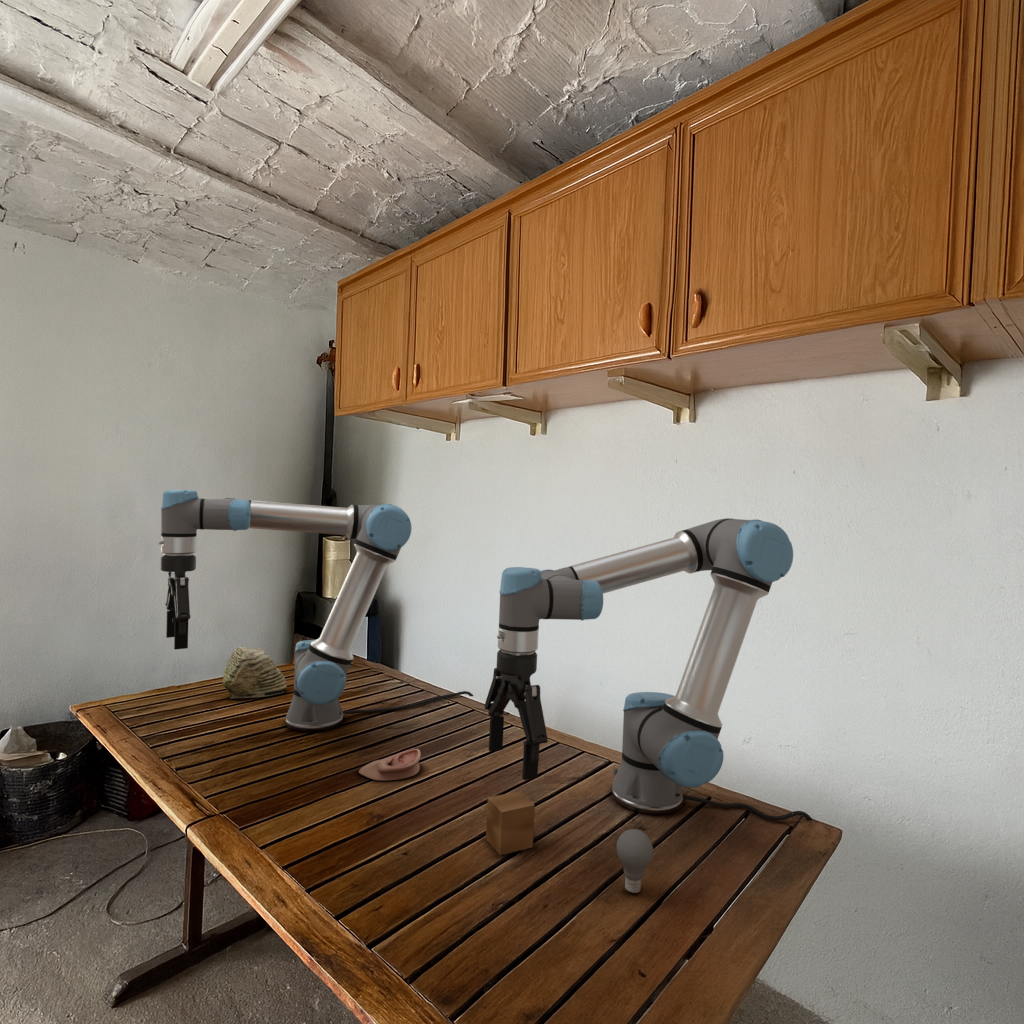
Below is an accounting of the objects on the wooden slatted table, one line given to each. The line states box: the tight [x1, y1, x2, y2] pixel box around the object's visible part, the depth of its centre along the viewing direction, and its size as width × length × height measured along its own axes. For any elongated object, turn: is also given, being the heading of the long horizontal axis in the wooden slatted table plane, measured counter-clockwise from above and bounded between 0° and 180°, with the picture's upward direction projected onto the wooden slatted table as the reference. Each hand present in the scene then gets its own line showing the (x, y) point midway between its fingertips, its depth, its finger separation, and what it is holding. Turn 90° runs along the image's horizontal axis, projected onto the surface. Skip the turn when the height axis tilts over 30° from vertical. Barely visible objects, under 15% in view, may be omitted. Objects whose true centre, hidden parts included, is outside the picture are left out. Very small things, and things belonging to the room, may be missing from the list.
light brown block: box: [485, 791, 536, 856], centre depth 119 cm, size 6×7×8 cm
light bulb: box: [615, 828, 654, 894], centre depth 106 cm, size 6×6×10 cm
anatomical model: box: [358, 748, 422, 782], centre depth 147 cm, size 13×4×12 cm
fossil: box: [222, 646, 288, 699], centre depth 198 cm, size 9×18×15 cm, turn 132°
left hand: (176, 642), depth 152 cm, fingers open, 13 cm apart
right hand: (511, 763), depth 119 cm, fingers open, 13 cm apart
